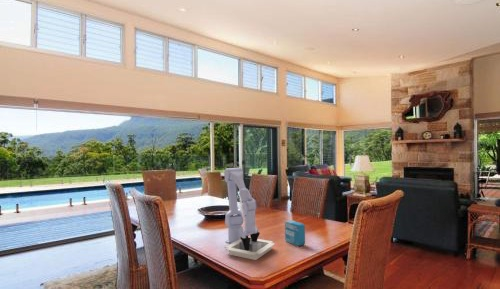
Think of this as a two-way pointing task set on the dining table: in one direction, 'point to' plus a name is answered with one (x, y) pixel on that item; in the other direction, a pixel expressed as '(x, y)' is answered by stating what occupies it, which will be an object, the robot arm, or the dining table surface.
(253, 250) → the box
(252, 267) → the dining table surface
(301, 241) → the data package
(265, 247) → the cream square frame
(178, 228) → the dining table surface
